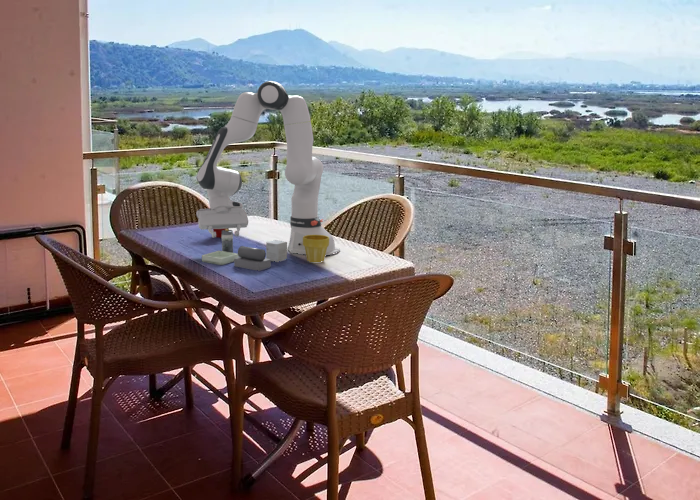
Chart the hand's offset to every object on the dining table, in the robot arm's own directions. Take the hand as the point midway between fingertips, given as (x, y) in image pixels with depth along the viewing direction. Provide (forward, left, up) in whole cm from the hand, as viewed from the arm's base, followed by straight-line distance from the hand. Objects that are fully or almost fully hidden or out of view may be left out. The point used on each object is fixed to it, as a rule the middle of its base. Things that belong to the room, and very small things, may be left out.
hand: (225, 236), depth 274 cm
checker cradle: (-22, +10, -7) cm, 25 cm away
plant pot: (-37, -11, -8) cm, 39 cm away
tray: (-6, +10, -7) cm, 14 cm away
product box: (-23, -4, -8) cm, 24 cm away
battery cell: (-2, +1, -7) cm, 8 cm away
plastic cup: (+24, -25, -8) cm, 36 cm away
